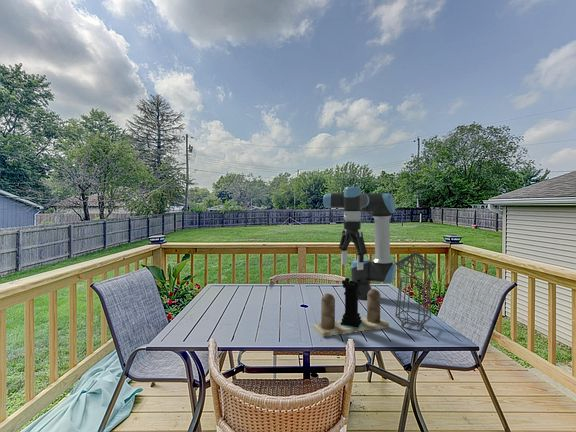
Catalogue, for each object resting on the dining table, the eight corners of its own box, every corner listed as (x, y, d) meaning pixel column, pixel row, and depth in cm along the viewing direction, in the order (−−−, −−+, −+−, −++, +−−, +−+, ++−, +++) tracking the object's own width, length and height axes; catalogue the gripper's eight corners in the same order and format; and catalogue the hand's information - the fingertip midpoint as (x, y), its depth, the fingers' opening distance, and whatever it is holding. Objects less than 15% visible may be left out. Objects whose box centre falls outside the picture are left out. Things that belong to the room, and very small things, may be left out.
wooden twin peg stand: (375, 319, 150) (375, 285, 150) (389, 327, 140) (390, 291, 139) (312, 328, 139) (312, 291, 139) (323, 337, 128) (323, 298, 128)
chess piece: (361, 321, 141) (362, 279, 141) (358, 327, 134) (358, 282, 134) (345, 318, 145) (345, 277, 144) (340, 324, 137) (340, 280, 137)
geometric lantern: (401, 318, 152) (404, 249, 152) (435, 326, 142) (438, 252, 142) (390, 327, 140) (392, 252, 139) (425, 337, 130) (429, 256, 129)
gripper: (332, 219, 149) (332, 262, 149) (360, 221, 125) (359, 272, 126) (345, 219, 151) (345, 261, 152) (375, 221, 128) (375, 271, 128)
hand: (351, 267), depth 139 cm, fingers open, 13 cm apart
